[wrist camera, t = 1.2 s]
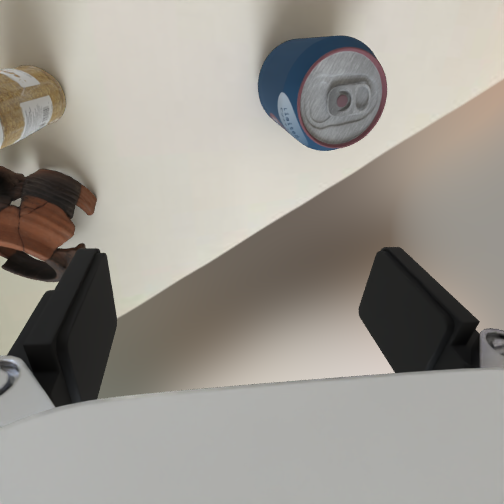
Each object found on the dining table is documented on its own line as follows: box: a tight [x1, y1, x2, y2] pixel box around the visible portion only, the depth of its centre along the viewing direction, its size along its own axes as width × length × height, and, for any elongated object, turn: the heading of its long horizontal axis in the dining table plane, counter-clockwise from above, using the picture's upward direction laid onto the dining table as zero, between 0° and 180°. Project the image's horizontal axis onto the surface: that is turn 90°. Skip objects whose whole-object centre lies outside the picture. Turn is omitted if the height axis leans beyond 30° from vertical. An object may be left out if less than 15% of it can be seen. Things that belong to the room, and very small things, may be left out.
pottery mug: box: [0, 166, 97, 282], centre depth 30 cm, size 12×10×8 cm
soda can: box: [258, 36, 387, 151], centre depth 25 cm, size 7×7×12 cm
